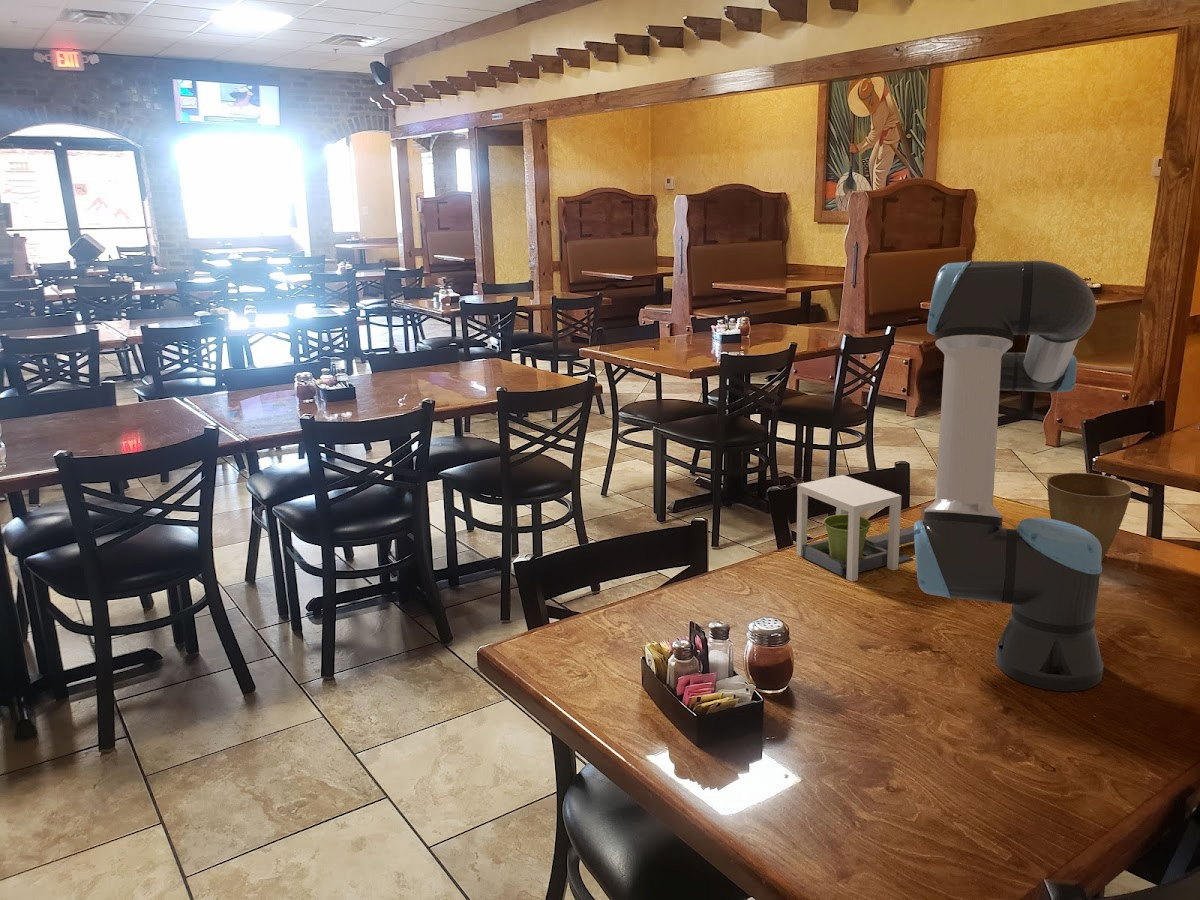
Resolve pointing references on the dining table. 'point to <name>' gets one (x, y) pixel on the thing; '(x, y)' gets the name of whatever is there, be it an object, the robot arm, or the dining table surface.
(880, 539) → the long-handled tray
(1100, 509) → the plant pot
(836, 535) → the plant pot
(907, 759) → the dining table surface
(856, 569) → the white mini stool
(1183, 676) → the dining table surface
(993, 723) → the dining table surface
